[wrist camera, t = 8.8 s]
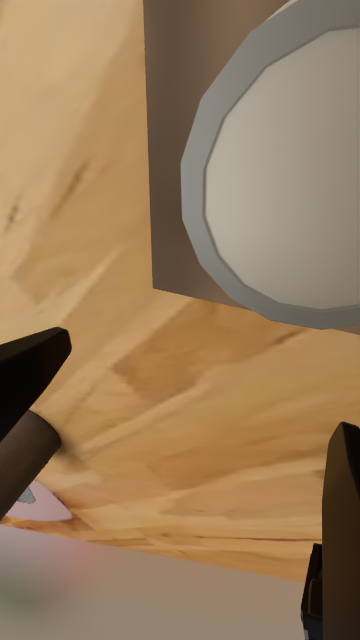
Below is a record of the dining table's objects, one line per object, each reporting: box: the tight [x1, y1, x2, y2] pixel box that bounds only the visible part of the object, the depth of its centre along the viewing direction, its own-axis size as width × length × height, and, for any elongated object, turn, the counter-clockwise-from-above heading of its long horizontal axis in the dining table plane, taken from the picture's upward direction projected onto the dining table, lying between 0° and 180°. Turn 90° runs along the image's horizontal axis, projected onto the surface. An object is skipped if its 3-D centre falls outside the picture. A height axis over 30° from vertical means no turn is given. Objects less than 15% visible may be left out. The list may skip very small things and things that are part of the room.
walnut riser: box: [143, 0, 360, 335], centre depth 13 cm, size 16×16×4 cm
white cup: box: [181, 0, 360, 330], centre depth 9 cm, size 7×7×7 cm
